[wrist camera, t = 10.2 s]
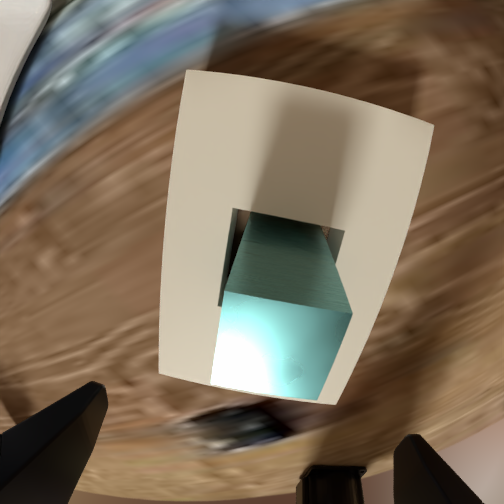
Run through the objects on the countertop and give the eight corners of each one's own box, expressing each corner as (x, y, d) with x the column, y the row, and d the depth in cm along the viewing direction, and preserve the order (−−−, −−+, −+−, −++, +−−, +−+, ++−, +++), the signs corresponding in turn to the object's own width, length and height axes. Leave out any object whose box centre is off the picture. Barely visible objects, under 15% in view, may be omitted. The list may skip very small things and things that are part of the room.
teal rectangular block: (318, 222, 19) (353, 313, 10) (303, 282, 20) (317, 400, 11) (252, 208, 19) (224, 290, 10) (241, 270, 20) (211, 383, 11)
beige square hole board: (408, 124, 16) (434, 125, 13) (330, 371, 23) (335, 404, 20) (203, 79, 16) (186, 69, 13) (173, 342, 23) (158, 373, 20)
